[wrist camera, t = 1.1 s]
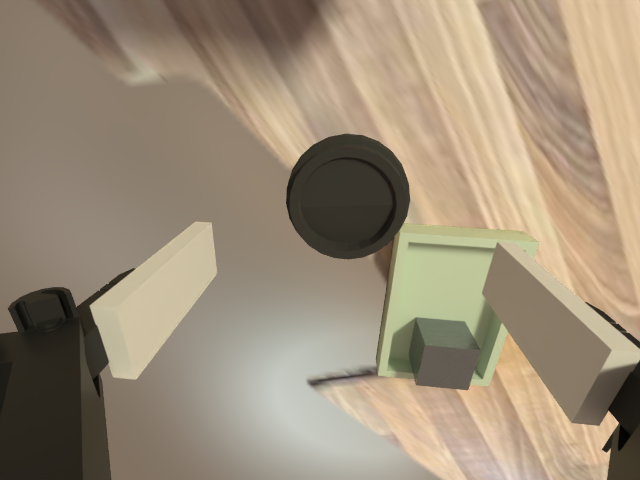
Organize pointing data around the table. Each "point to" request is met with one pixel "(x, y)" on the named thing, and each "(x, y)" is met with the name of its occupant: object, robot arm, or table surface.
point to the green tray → (442, 291)
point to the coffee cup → (348, 196)
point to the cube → (443, 353)
